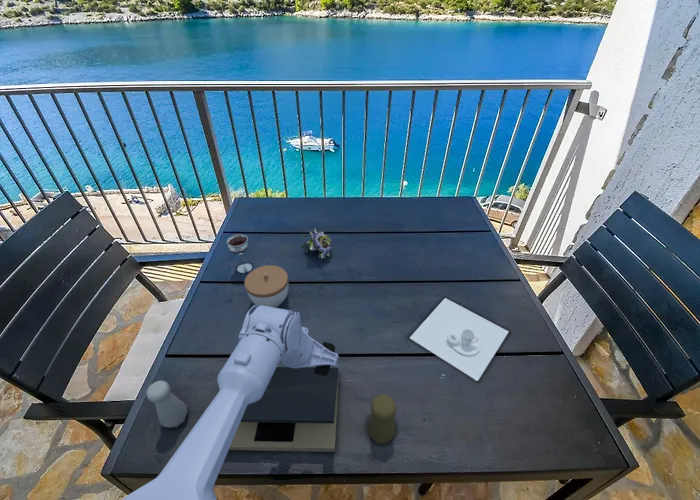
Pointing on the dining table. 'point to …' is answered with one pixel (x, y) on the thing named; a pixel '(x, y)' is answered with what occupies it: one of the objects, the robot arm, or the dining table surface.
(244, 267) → the wineglass
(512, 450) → the dining table surface
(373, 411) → the olive peanut shape
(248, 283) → the lidded bowl
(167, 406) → the salt shaker
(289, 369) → the panel
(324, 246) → the passion flower
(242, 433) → the netbook
